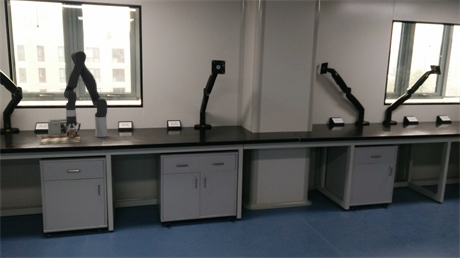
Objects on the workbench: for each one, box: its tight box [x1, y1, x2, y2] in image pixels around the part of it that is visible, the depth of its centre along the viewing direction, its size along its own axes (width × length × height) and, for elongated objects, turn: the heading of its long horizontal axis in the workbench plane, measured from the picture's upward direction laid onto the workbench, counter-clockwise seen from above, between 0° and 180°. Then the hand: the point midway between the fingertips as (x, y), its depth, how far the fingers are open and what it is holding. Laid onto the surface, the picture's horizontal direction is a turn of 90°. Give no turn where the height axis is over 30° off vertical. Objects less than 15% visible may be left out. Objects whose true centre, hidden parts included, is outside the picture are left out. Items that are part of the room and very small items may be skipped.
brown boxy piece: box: [69, 128, 76, 138], centre depth 294 cm, size 5×10×6 cm, turn 23°
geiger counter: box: [47, 118, 78, 136], centre depth 320 cm, size 14×6×25 cm
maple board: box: [40, 133, 81, 145], centre depth 292 cm, size 28×14×4 cm, turn 113°
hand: (72, 135), depth 296 cm, fingers closed on brown boxy piece, 5 cm apart
